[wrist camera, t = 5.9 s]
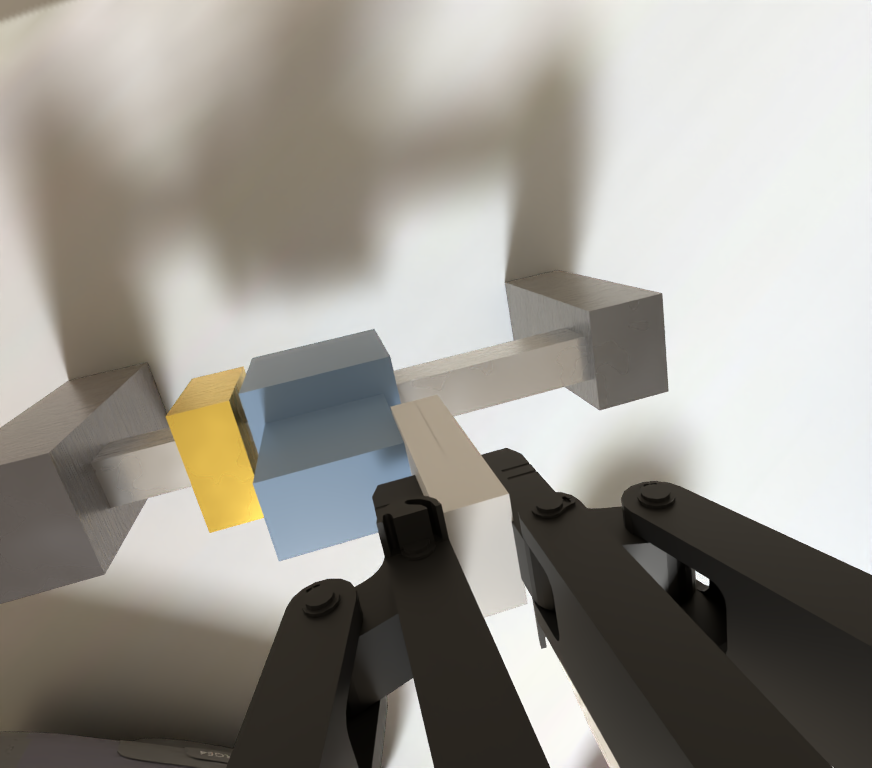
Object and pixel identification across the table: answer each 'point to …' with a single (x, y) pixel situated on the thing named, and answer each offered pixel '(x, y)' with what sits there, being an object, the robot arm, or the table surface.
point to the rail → (232, 439)
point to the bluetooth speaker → (105, 752)
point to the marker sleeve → (323, 439)
